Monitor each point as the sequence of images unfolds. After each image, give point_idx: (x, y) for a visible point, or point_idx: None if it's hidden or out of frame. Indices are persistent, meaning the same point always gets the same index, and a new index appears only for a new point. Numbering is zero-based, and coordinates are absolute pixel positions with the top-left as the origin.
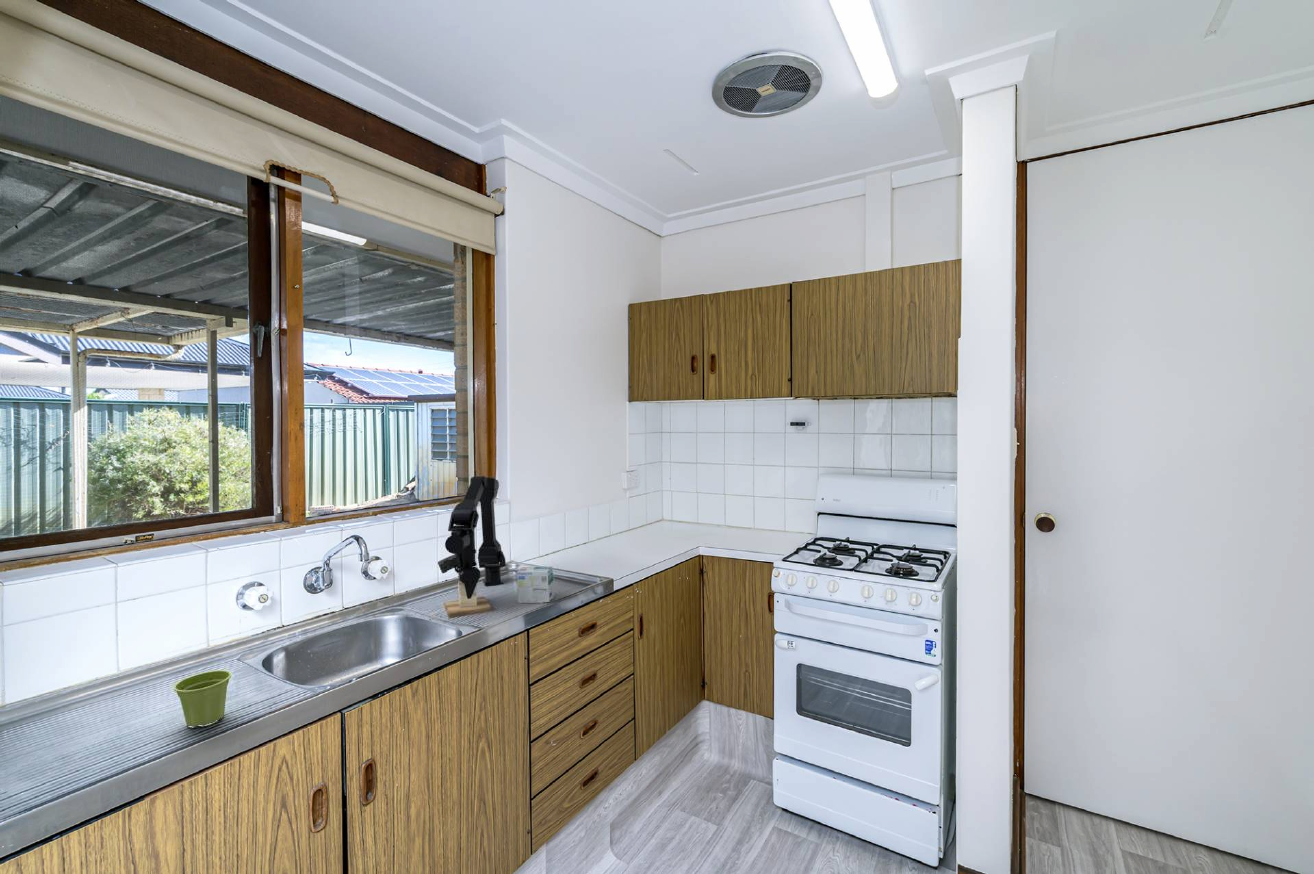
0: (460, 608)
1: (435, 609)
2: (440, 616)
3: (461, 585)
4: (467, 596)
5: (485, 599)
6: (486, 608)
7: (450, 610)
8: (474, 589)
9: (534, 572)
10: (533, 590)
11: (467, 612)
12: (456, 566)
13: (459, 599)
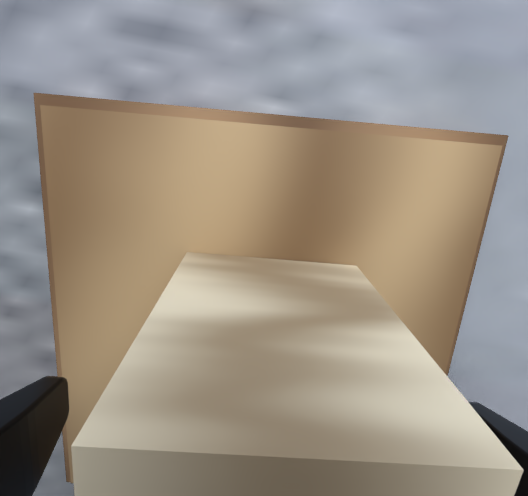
0: (169, 248)
1: (441, 23)
2: (157, 24)
3: (105, 486)
4: (14, 397)
5: None
6: (71, 444)
7: (154, 137)
8: None
9: None
10: None
11: (51, 286)
12: None
13: (261, 284)
